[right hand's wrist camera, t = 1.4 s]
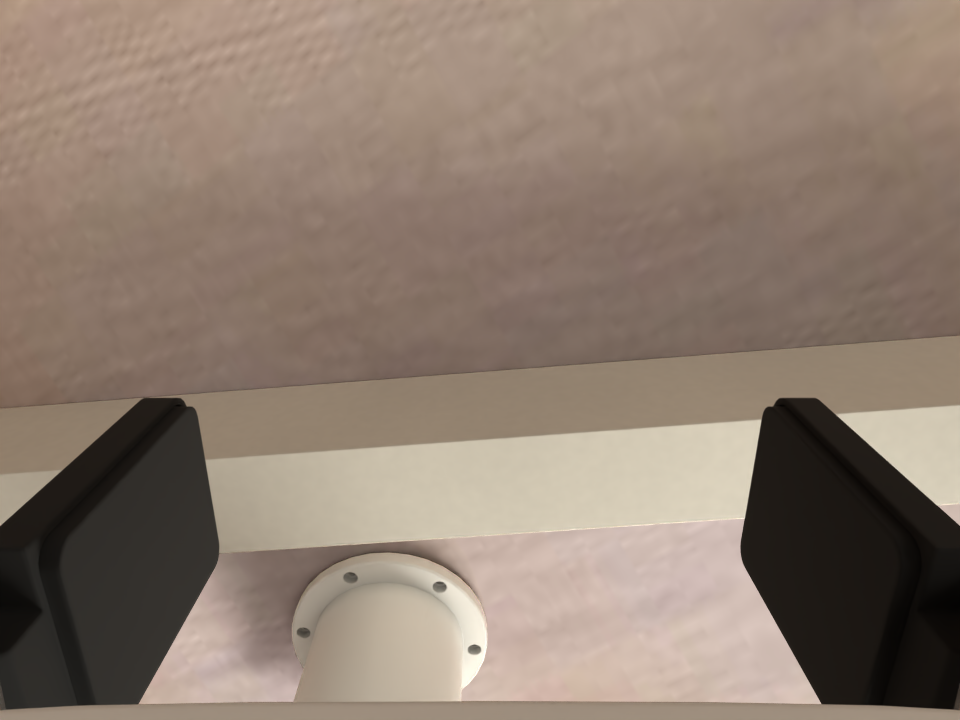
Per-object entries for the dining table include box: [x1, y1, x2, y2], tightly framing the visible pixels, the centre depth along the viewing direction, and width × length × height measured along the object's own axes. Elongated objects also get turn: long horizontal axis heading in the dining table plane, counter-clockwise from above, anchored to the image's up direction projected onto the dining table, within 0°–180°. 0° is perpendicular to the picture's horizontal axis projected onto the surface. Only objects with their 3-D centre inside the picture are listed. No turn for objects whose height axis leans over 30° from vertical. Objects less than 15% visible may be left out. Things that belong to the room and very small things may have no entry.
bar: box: [0, 336, 960, 554], centre depth 35 cm, size 76×5×8 cm, turn 95°
